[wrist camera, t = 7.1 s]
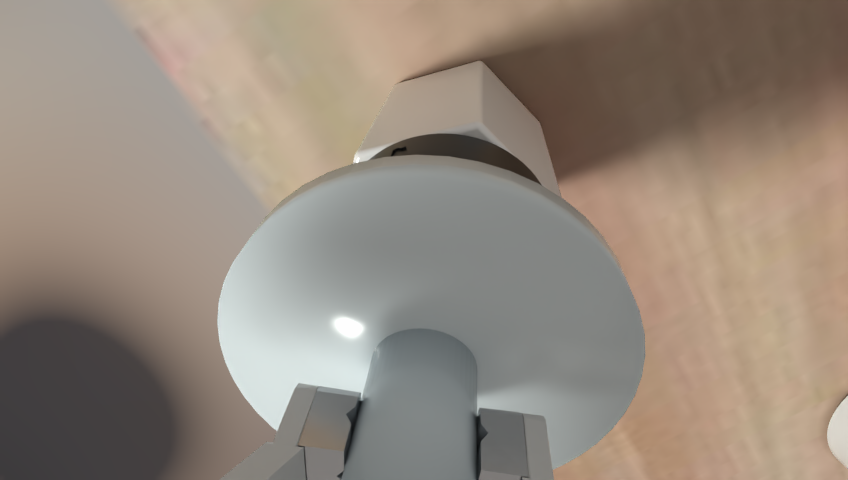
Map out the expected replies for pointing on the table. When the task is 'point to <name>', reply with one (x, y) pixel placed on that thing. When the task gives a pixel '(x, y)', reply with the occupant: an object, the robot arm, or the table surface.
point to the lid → (433, 312)
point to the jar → (461, 124)
